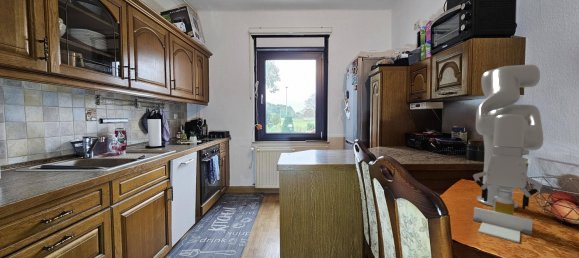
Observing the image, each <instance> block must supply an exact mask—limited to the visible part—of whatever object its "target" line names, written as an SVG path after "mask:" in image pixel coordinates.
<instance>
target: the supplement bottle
mask: <svg viewBox="0 0 579 258" xmlns="http://www.w3.org/2000/svg"><path fill="white" fill-rule="evenodd" d="M496 194H497V196H495V197H494V198H493V206H492V211H495V212H500V213H505V214H509V215H514V216H515V208H514V203H516V202H515V200H514V198H513V199H511V197H512V192H510V191H506V190H497V192H496Z"/></svg>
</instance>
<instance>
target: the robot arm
mask: <svg viewBox="0 0 579 258" xmlns="http://www.w3.org/2000/svg"><path fill="white" fill-rule="evenodd" d="M480 79H481V80H480V81H481V83H480V84H481V90H482V93H483V96H484V97H485V99H484V100H482V102H481V103H479V105H478V107H477V109H476V113H475V130H476V132H477V134H479V135H481V136H483V137H482V138H483V145H484V146H483V147H484V148H483V149H484V158H483V159H484V161H483V171H482V172H478V173H475V174H473V175H472V177H473V179H474V181H475V183H476V185H478V186H479V187H480V188H481V195H479V196H476V200H477V201H478V202H480V204H483V205H485V206H486V205H487V206H491V207H493V198H494V197H495V196H497V194H496V192H497V190H506V191H510V192H512V197H511V199H513V200H514V190H519V191H521V192H522V193H523V195H522V209H523V210H526V207H528V208H529V206H530V205H529V204H530V197H531V196H534V195H535V194H537V193H538V192H539V191H540V190H541V188H542V187H543V184H542V183H541V182H539V181H538V180H535V179H533V178H531V177H530V176H528V166H527V159H526V157H524V156H525V155H530V151H538V150H540V149H541V148H542V147H543V144H544V131H543V125H542V117H541V112H540V109H539V108H538V106H535V105H534V104H515V103H517V102H518V101H519V100H520V97H521V93H520V91H521V90H520V88H534V87H536V86H537V85H538V83H539V82H540V79H541V72H540V69H539V67H538V66H537V65H536V64H518V65H504V66H500V67H497V68H494V69H490V70H486V71H485V72H484V73H483V74H482V76H481V78H480ZM481 177H482V181H481V180H480V178H481ZM528 183H530V184H532V185H533V186H534V187H533V188H532V189H530V190H528V189H527V188H526V187H527V184H528ZM518 206H519V205H518V203H517V202H515V203H514V209H517V208H518Z"/></svg>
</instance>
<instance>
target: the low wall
mask: <svg viewBox="0 0 579 258" xmlns="http://www.w3.org/2000/svg"><path fill="white" fill-rule="evenodd" d="M472 221H473V222H477V223H482V222H484V223H488V224H492V225H496V226H500V227H505V228H509V229H513V230H517V231H520V232H522V233H523V234H526V235H533V223H534V222H533V219H532V218H527V217H523V216H518V215H515V214H514V215H509V214H505V213H500V212H495V211H493V210H490V209H486V208H480V207H473V218H472Z"/></svg>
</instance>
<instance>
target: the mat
mask: <svg viewBox="0 0 579 258" xmlns="http://www.w3.org/2000/svg"><path fill="white" fill-rule="evenodd" d="M477 232H478V233H481V234H485V235H488V236H491V237H496V238H500V239H503V240H507V241H510V242H514V243H519V244H520V240H521V231H518V230H514V229H510V228H505V227H501V226H497V225H493V224H489V223H485V222H481V224H480V226H479V228H478V230H477Z"/></svg>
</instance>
